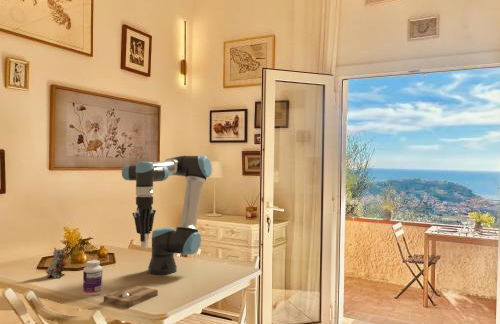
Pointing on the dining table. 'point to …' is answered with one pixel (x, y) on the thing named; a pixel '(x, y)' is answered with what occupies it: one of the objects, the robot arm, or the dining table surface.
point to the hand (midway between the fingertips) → (144, 248)
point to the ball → (125, 295)
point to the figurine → (57, 264)
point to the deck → (136, 296)
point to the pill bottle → (92, 278)
